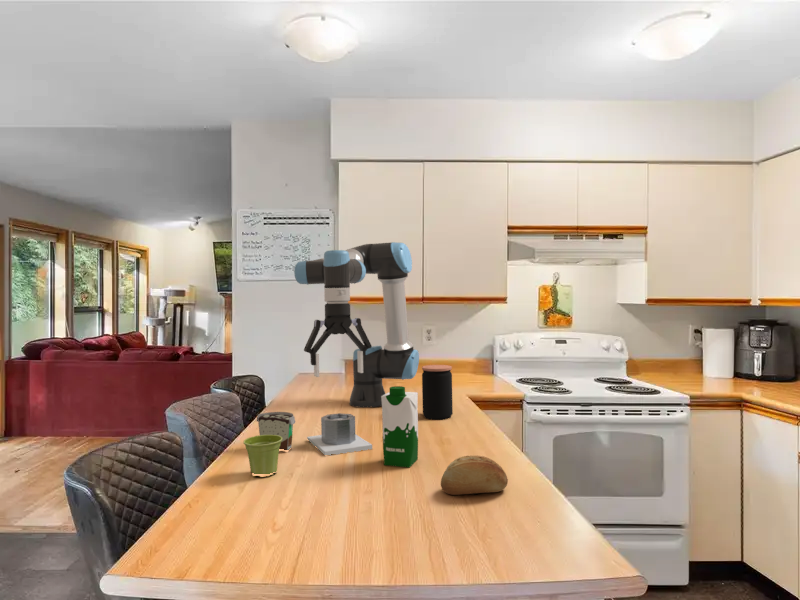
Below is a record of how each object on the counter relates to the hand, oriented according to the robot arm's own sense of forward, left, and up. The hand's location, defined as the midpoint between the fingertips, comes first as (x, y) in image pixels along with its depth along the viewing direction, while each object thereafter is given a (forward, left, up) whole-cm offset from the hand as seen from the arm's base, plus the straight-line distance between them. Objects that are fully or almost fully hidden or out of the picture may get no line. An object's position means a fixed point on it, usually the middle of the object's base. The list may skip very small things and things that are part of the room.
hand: (339, 374), depth 159 cm
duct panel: (+1, -1, -21) cm, 21 cm away
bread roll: (+51, +14, -21) cm, 57 cm away
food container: (-4, -17, -21) cm, 27 cm away
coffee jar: (-16, +42, -21) cm, 50 cm away
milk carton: (+25, +8, -21) cm, 33 cm away
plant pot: (+17, -26, -21) cm, 37 cm away
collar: (+1, -1, -19) cm, 19 cm away
